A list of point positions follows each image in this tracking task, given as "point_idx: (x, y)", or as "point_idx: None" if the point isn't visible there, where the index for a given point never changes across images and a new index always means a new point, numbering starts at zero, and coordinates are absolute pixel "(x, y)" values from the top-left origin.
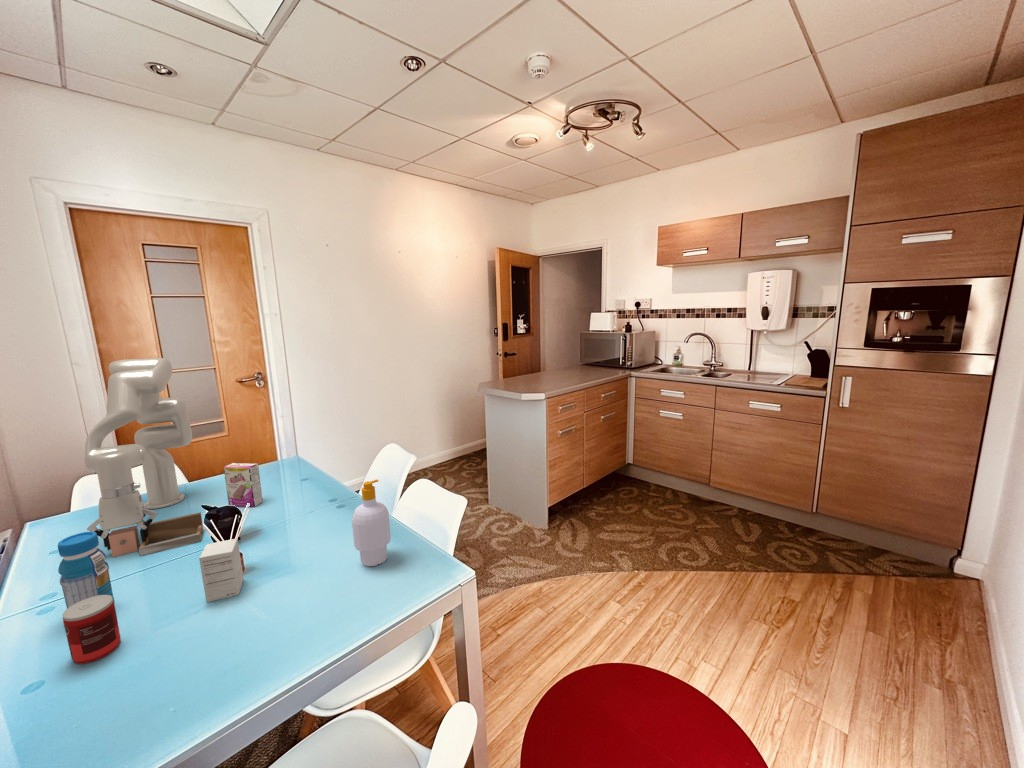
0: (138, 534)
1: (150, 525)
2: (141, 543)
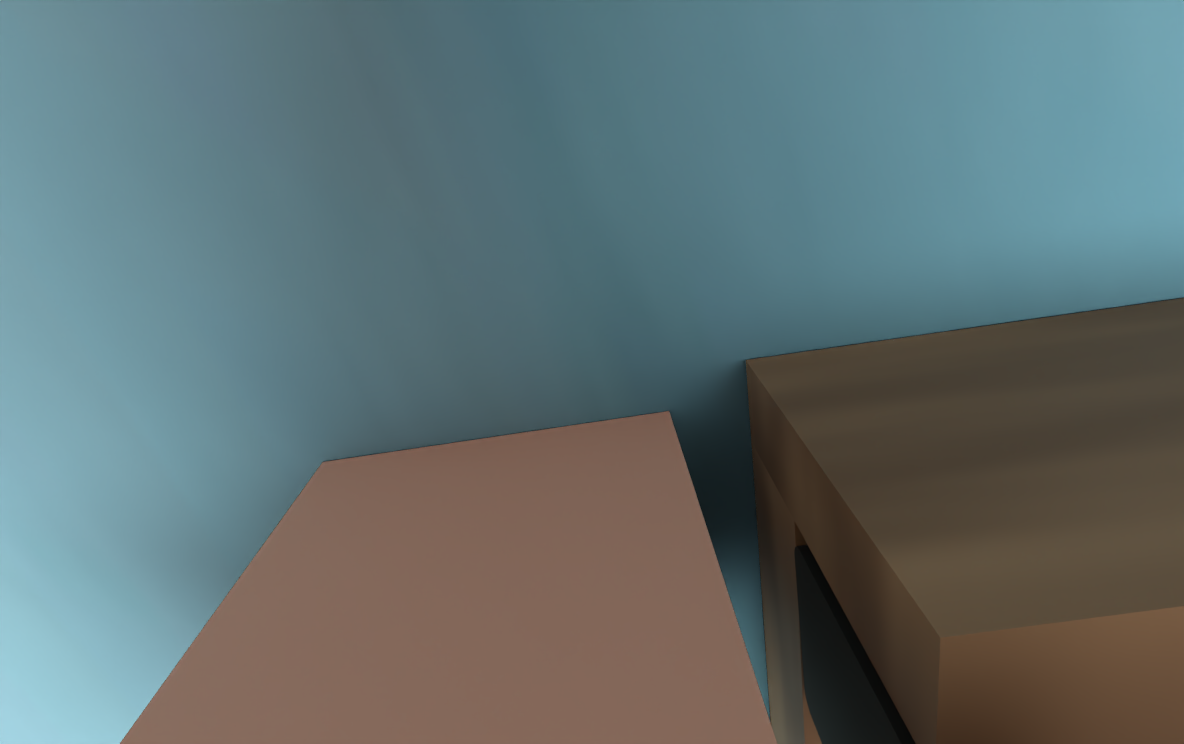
0: (712, 549)
1: (1156, 724)
2: (806, 734)
